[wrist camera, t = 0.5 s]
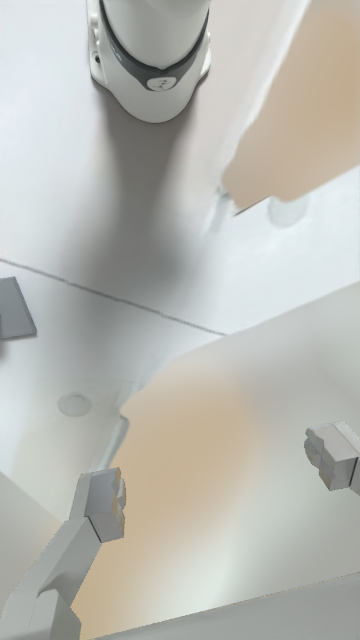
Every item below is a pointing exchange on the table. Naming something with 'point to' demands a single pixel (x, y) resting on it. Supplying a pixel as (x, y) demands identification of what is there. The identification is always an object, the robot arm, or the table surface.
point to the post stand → (13, 310)
